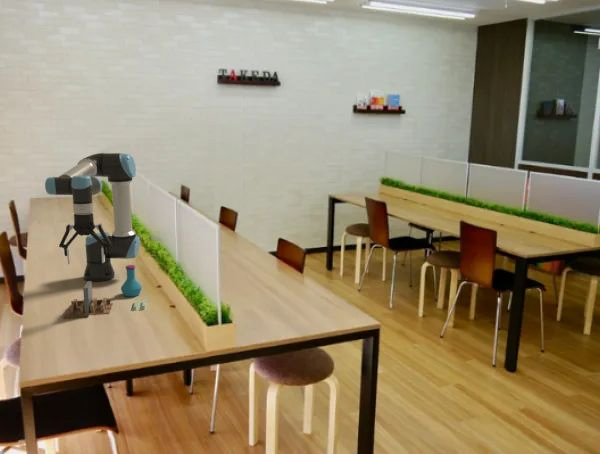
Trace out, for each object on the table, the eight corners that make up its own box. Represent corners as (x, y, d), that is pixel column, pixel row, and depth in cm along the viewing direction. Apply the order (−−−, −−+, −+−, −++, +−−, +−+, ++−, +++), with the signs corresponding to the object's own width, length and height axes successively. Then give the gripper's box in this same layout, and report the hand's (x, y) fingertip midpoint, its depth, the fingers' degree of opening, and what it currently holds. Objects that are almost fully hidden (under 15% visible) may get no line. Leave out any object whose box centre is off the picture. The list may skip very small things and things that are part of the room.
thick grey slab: (88, 305, 240) (87, 281, 238) (92, 305, 241) (91, 281, 239) (84, 313, 231) (83, 288, 229) (89, 313, 231) (87, 288, 229)
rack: (69, 308, 240) (69, 298, 239) (112, 305, 244) (112, 296, 243) (63, 318, 228) (62, 308, 227) (109, 316, 232) (108, 306, 231)
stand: (134, 304, 246) (133, 299, 246) (148, 303, 248) (147, 298, 247) (132, 312, 236) (131, 307, 235) (146, 312, 237) (146, 306, 237)
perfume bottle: (121, 300, 251) (119, 268, 249) (121, 294, 260) (120, 263, 257) (141, 299, 254) (140, 267, 251) (142, 293, 263) (140, 262, 260)
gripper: (49, 215, 222) (52, 266, 226) (114, 214, 227) (116, 263, 231) (53, 212, 229) (56, 261, 233) (116, 210, 234) (118, 259, 238)
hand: (86, 262), depth 232 cm, fingers open, 13 cm apart
